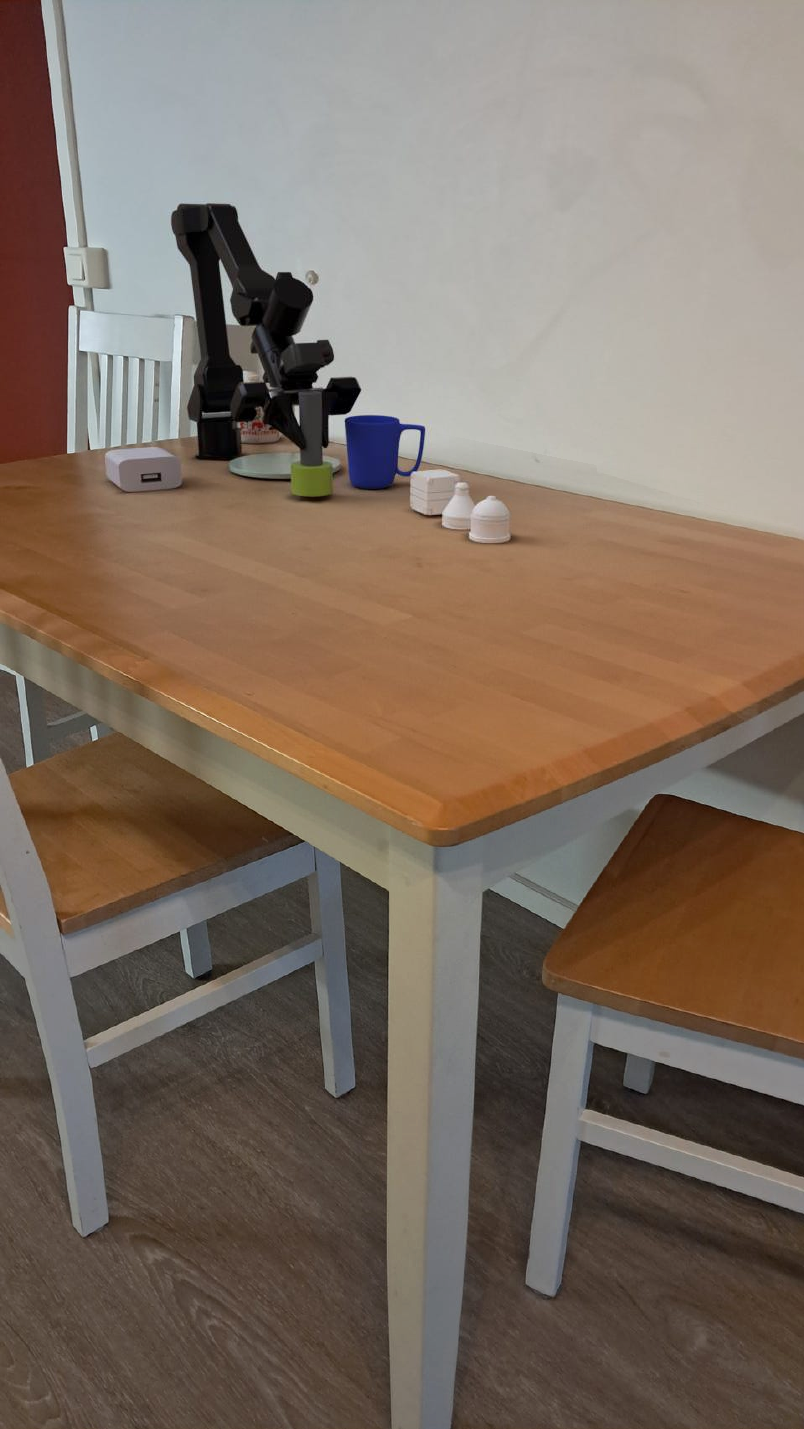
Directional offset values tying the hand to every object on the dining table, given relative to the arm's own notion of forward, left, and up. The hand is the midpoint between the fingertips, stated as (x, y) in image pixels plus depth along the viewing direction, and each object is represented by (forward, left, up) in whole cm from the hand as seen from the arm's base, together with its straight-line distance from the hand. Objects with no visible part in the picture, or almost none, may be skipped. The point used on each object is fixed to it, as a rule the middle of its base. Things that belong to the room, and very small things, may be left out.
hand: (315, 447), depth 151 cm
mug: (+8, +11, -8) cm, 16 cm away
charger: (-30, +7, -8) cm, 31 cm away
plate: (-10, +20, -7) cm, 24 cm away
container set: (+22, -11, -8) cm, 26 cm away
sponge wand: (-1, +1, -7) cm, 7 cm away
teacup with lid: (-21, +47, -8) cm, 52 cm away
